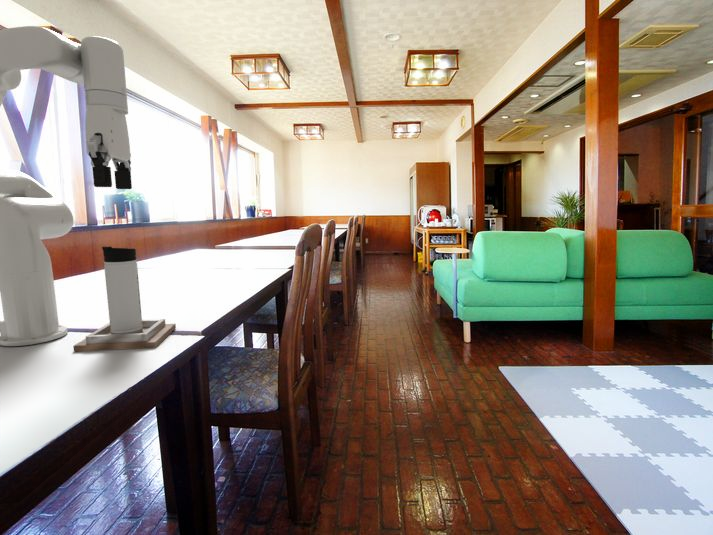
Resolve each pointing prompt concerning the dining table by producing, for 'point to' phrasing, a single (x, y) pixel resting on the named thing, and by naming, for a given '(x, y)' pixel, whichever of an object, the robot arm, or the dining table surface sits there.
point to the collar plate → (127, 337)
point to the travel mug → (122, 290)
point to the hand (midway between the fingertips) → (114, 188)
